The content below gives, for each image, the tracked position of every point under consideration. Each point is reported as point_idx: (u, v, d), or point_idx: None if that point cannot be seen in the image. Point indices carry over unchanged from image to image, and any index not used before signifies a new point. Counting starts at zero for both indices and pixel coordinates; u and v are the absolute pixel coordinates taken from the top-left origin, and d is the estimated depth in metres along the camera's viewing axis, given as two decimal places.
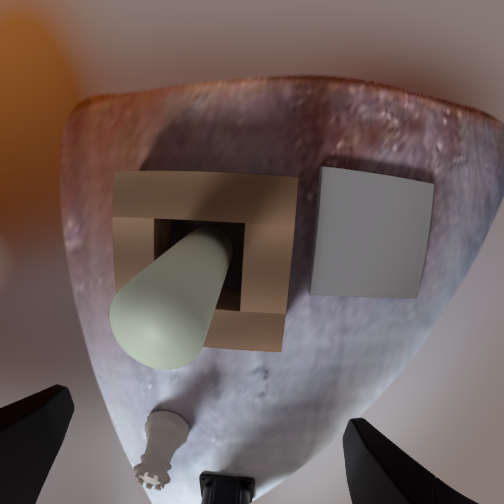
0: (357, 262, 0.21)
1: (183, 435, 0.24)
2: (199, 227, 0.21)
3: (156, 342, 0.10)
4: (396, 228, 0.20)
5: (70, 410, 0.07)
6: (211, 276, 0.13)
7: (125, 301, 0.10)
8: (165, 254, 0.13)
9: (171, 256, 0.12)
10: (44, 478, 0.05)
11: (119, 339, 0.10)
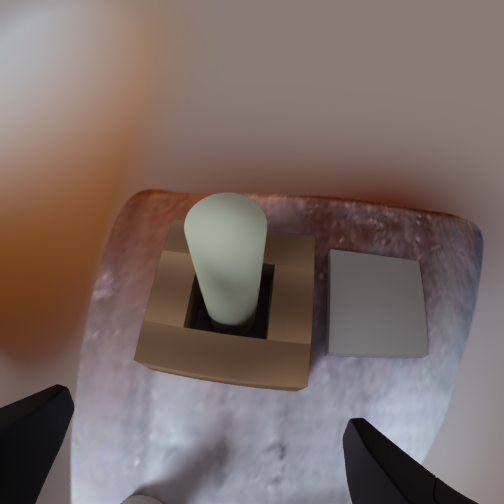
0: (368, 322, 0.22)
1: None
2: None
3: (223, 235, 0.13)
4: (395, 294, 0.23)
5: (70, 410, 0.07)
6: None
7: (205, 205, 0.13)
8: None
9: None
10: (44, 478, 0.05)
11: (188, 234, 0.13)
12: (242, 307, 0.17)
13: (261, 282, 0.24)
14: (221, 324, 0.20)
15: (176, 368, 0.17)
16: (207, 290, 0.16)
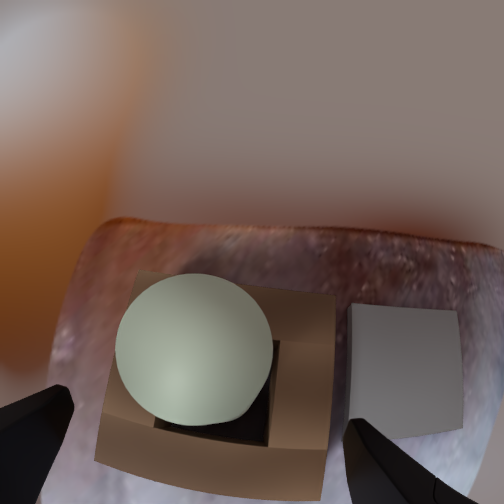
0: (397, 399, 0.15)
1: None
2: None
3: (185, 372, 0.06)
4: (430, 358, 0.17)
5: (70, 410, 0.07)
6: None
7: (155, 302, 0.07)
8: None
9: None
10: (44, 478, 0.05)
11: (121, 362, 0.06)
12: (233, 419, 0.10)
13: None
14: None
15: (147, 477, 0.10)
16: None
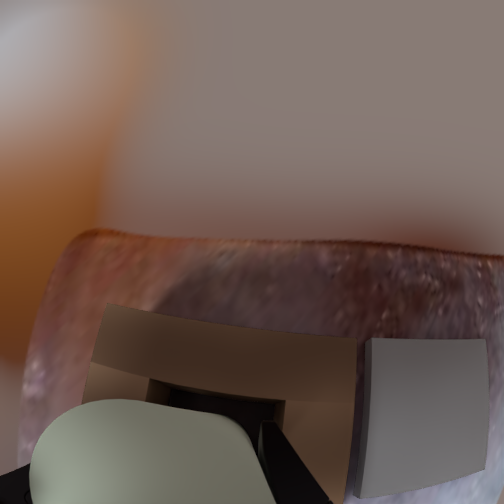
0: (419, 447, 0.11)
1: None
2: None
3: None
4: (457, 397, 0.13)
5: None
6: None
7: (73, 442, 0.03)
8: None
9: None
10: None
11: None
12: None
13: (261, 402, 0.13)
14: None
15: None
16: None
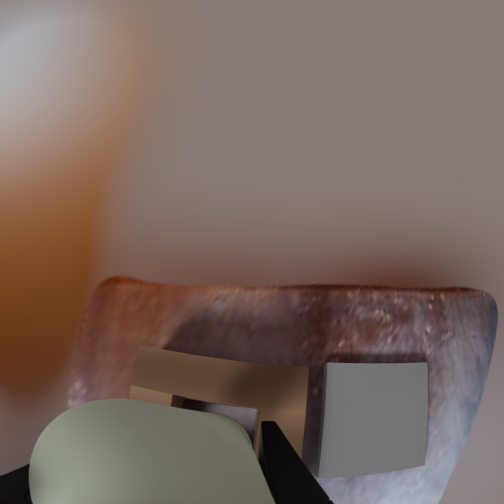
0: (363, 443, 0.17)
1: None
2: None
3: None
4: (397, 408, 0.19)
5: None
6: (255, 454, 0.06)
7: (72, 442, 0.03)
8: None
9: None
10: None
11: None
12: None
13: (246, 407, 0.19)
14: None
15: None
16: None
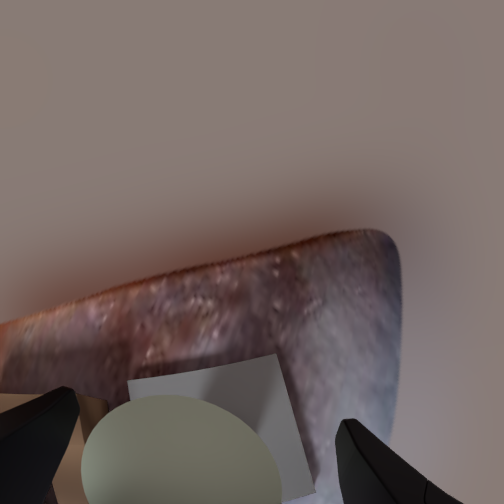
0: None
1: None
2: None
3: None
4: None
5: (76, 412, 0.07)
6: None
7: (123, 431, 0.04)
8: None
9: None
10: (50, 481, 0.05)
11: (92, 497, 0.03)
12: None
13: None
14: None
15: None
16: None
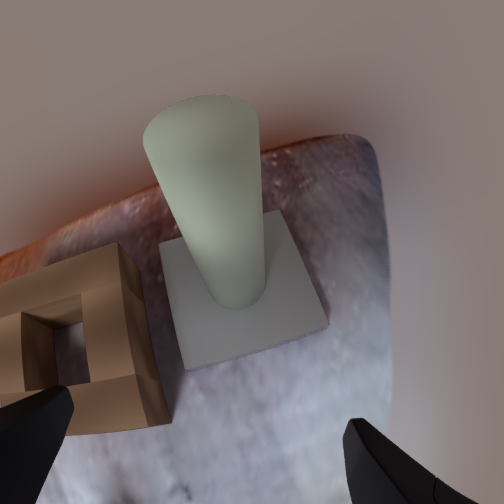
0: (225, 314, 0.18)
1: None
2: None
3: (195, 137, 0.08)
4: None
5: (70, 410, 0.07)
6: None
7: (173, 111, 0.09)
8: None
9: None
10: (44, 478, 0.05)
11: (147, 143, 0.08)
12: (243, 259, 0.13)
13: None
14: (220, 291, 0.16)
15: None
16: (189, 235, 0.11)
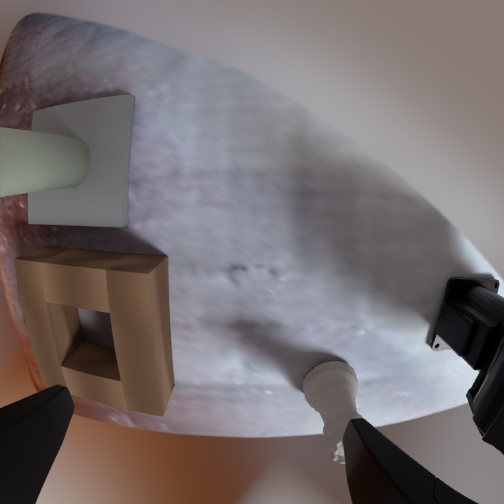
0: (89, 179, 0.18)
1: (331, 374, 0.20)
2: None
3: None
4: None
5: (70, 410, 0.07)
6: None
7: None
8: None
9: None
10: (44, 478, 0.05)
11: None
12: (34, 151, 0.11)
13: None
14: (63, 176, 0.15)
15: (157, 387, 0.18)
16: (1, 188, 0.10)
